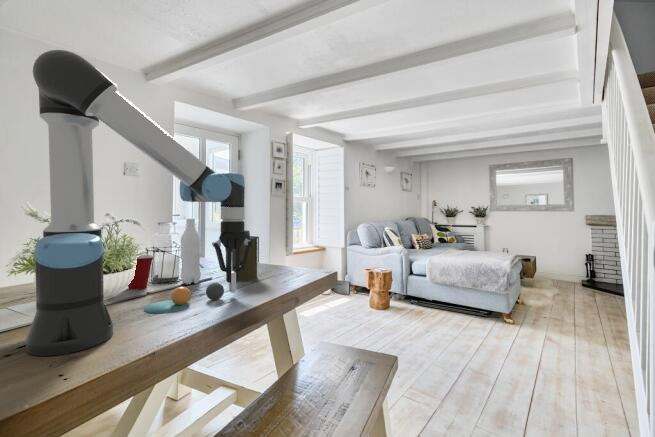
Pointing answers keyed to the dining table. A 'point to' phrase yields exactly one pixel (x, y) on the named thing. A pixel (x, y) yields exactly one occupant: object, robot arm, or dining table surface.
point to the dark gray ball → (214, 291)
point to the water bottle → (190, 253)
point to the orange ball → (180, 295)
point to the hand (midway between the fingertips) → (232, 291)
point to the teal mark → (164, 307)
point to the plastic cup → (141, 272)
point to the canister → (248, 260)
